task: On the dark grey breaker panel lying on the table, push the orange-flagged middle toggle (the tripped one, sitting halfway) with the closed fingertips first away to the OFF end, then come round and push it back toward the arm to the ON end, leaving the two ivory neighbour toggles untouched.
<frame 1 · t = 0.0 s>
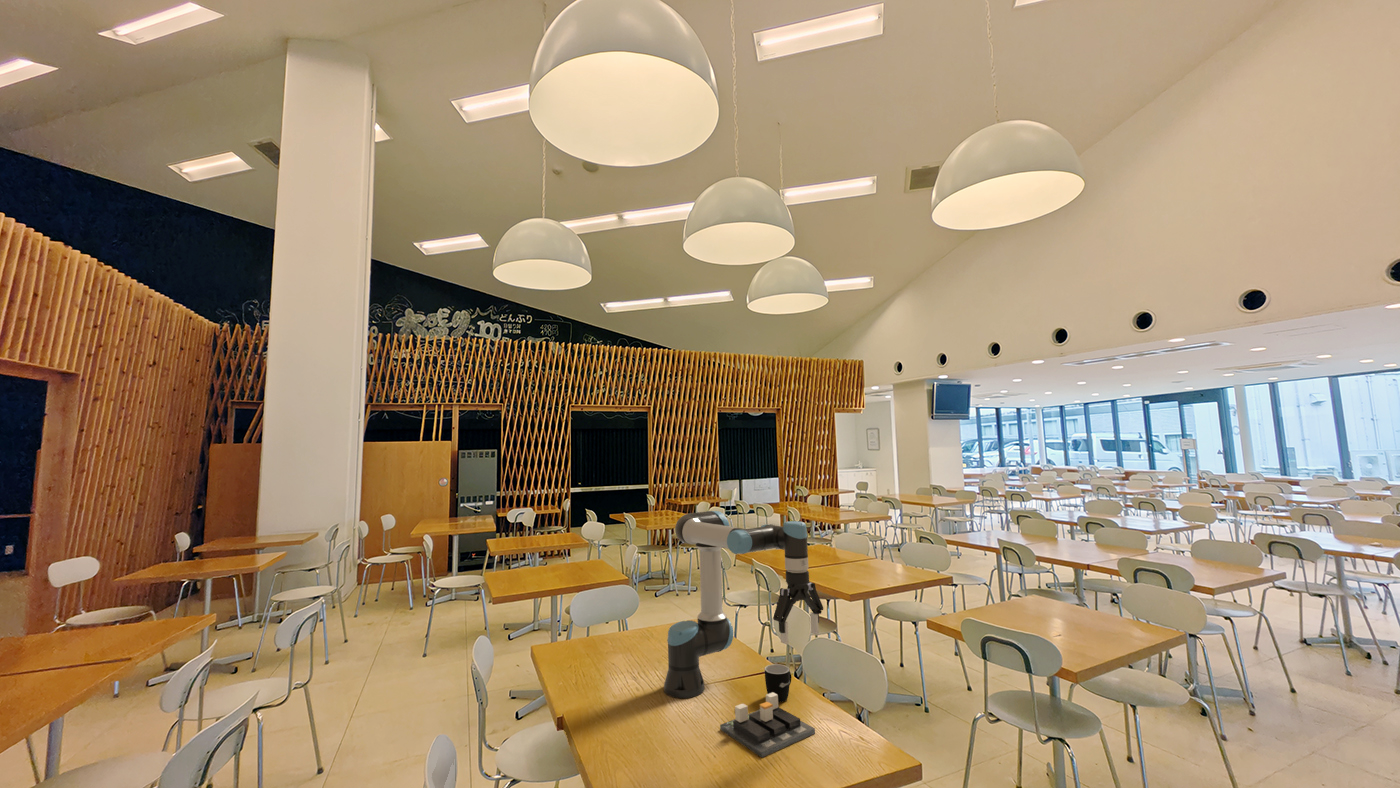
hand: (800, 638, 170), 28 cm above the table, fingers open, 13 cm apart
breaker far: (772, 719, 175), resting on panel, slide at -4.5 cm
mug: (780, 697, 191), on the table
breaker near: (742, 732, 168), resting on panel, slide at -4.5 cm
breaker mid: (767, 731, 168), resting on panel, slide at 0.0 cm
panel: (767, 731, 168), on the table
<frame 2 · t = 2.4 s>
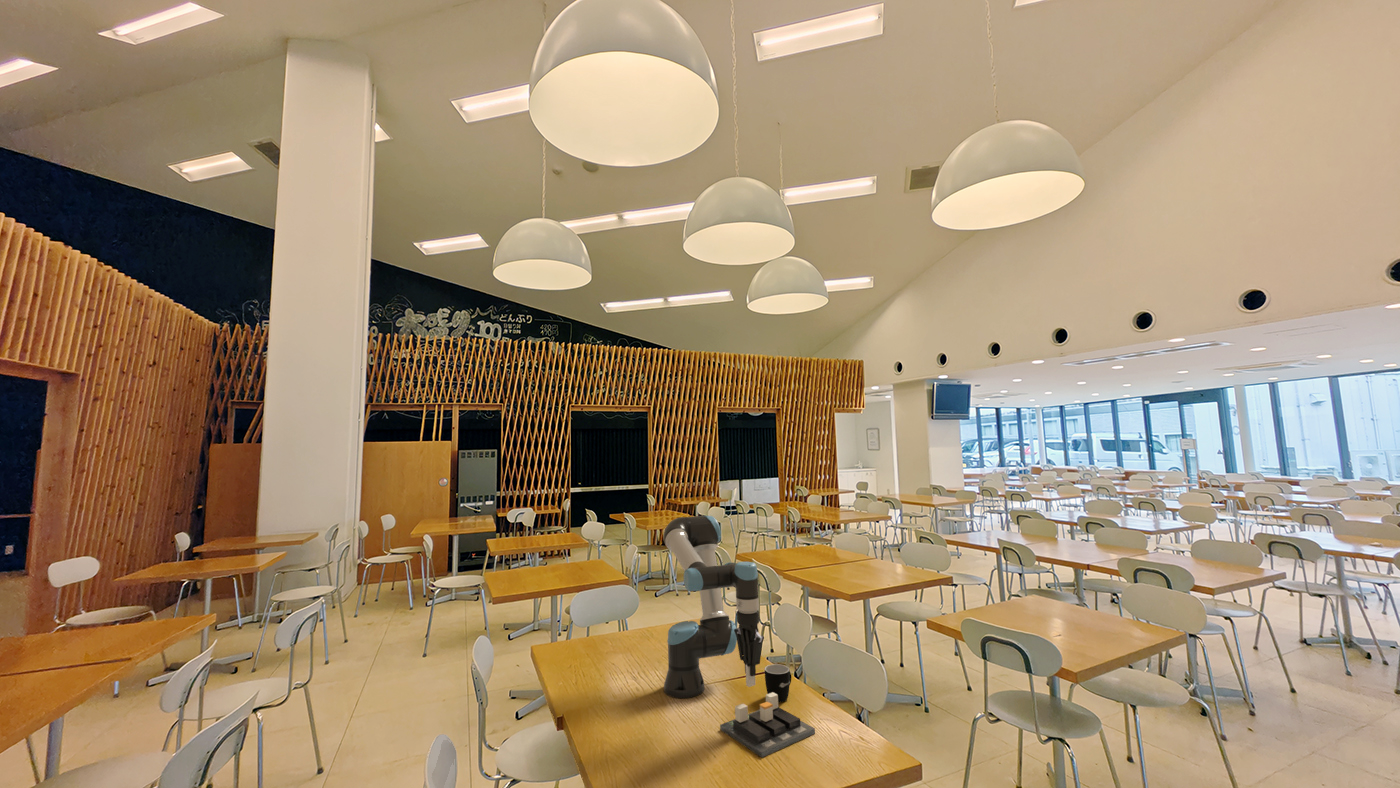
hand: (750, 685, 175), 12 cm above the table, fingers closed
nothing on the table moved.
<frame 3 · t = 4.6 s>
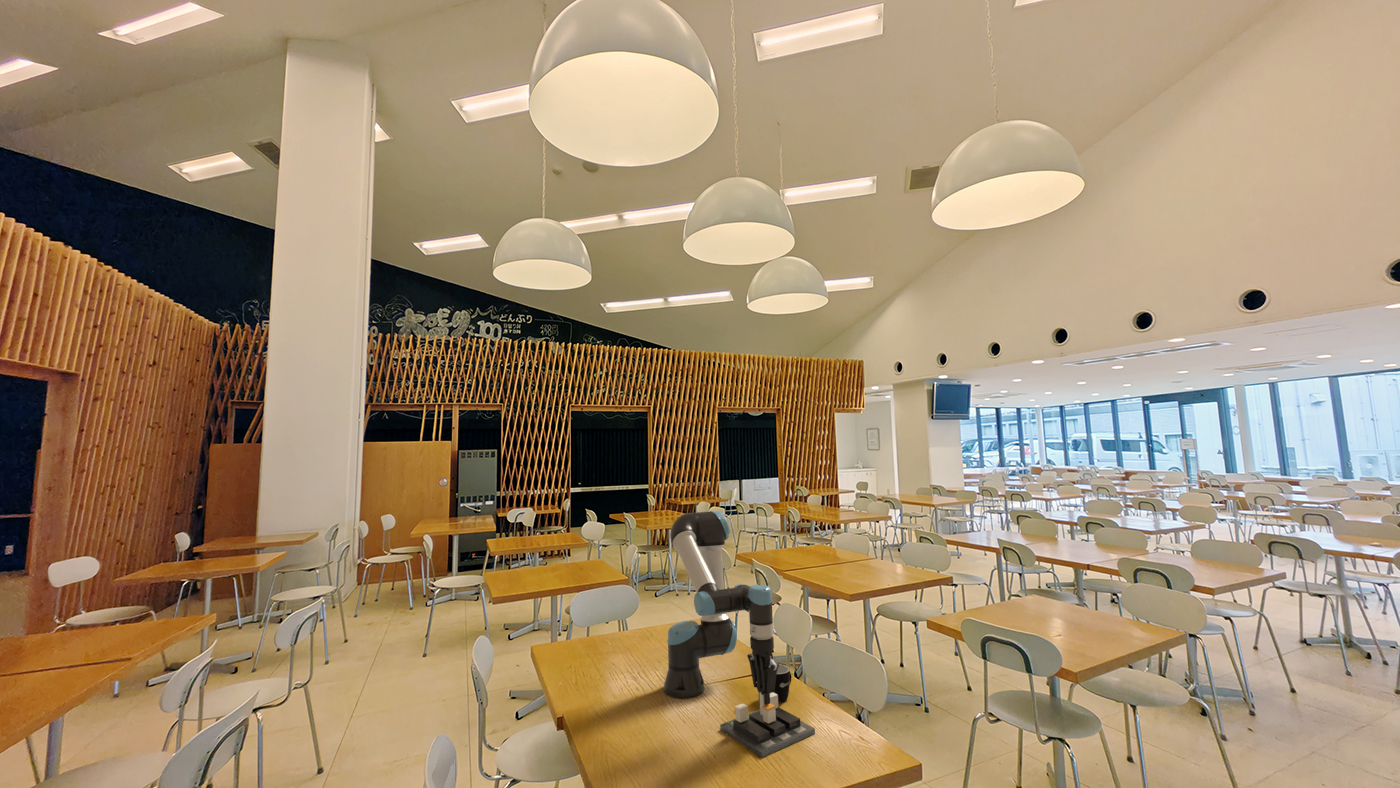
hand: (764, 713, 169), 5 cm above the table, fingers closed
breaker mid: (770, 733, 167), resting on panel, slide at 1.3 cm, touching gripper
everything else where it was.
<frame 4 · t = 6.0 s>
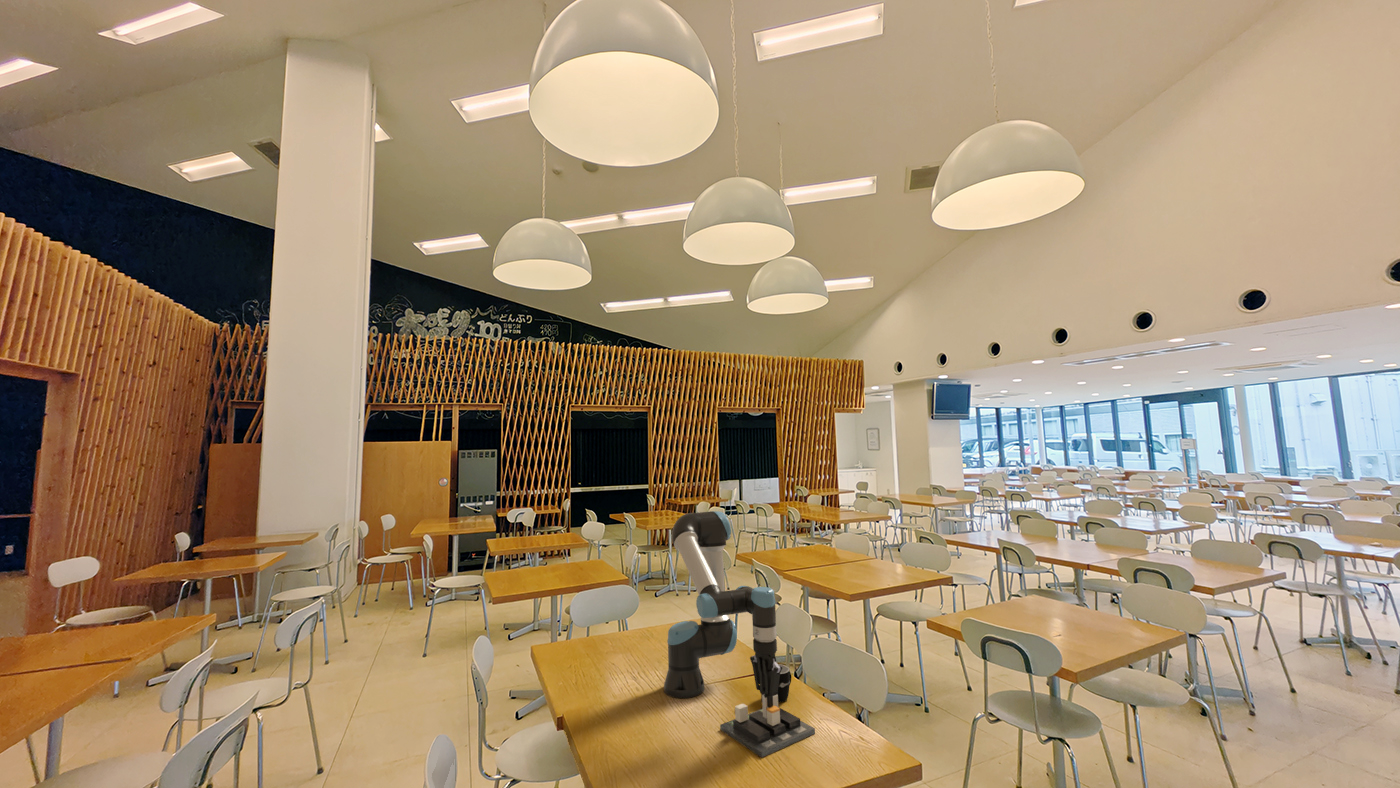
hand: (767, 716, 168), 5 cm above the table, fingers closed
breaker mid: (774, 735, 165), resting on panel, slide at 3.3 cm, touching gripper
everything else where it was.
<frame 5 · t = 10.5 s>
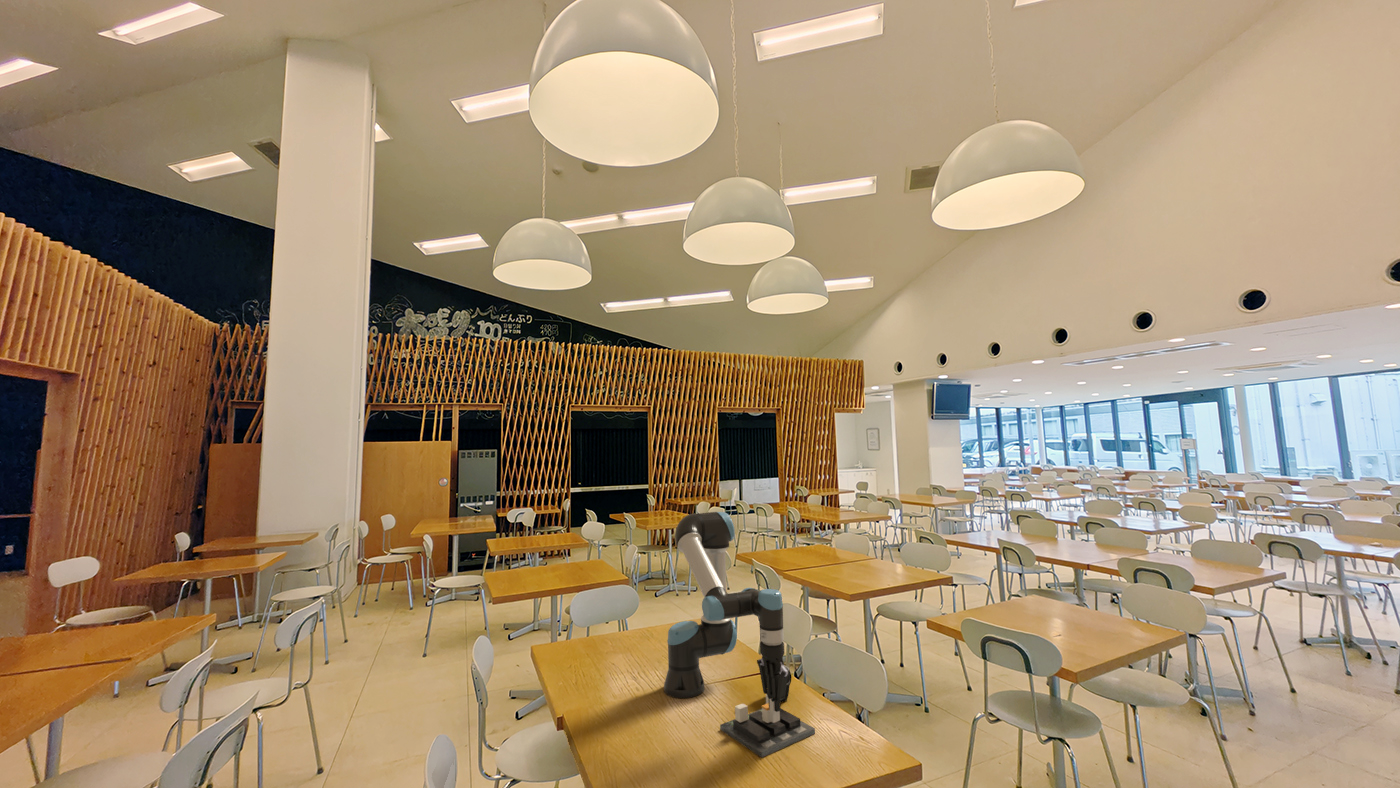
hand: (775, 720, 165), 5 cm above the table, fingers closed
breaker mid: (769, 732, 167), resting on panel, slide at 1.0 cm, touching gripper
everything else where it was.
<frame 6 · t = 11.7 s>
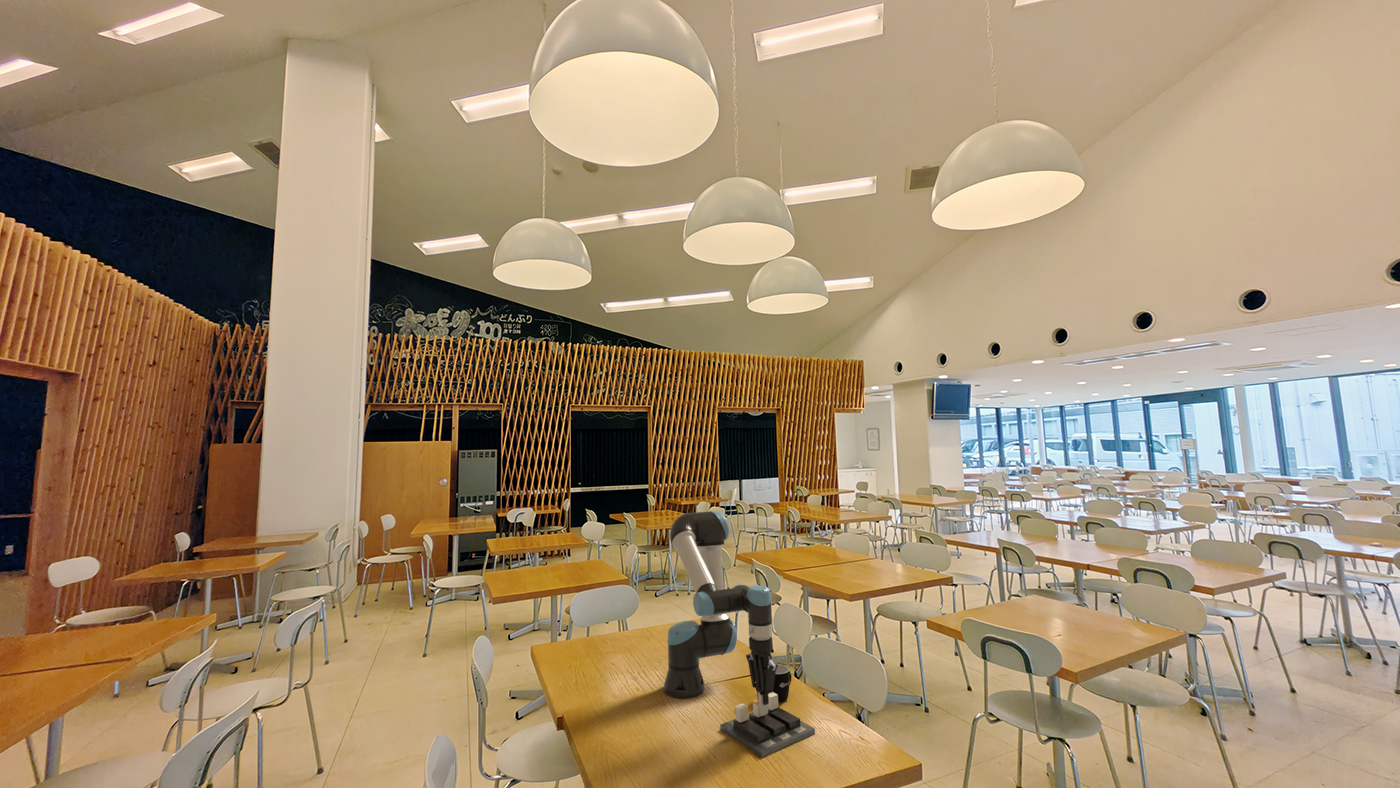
hand: (763, 713, 169), 5 cm above the table, fingers closed
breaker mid: (759, 727, 171), resting on panel, slide at -3.5 cm, touching gripper
everything else where it was.
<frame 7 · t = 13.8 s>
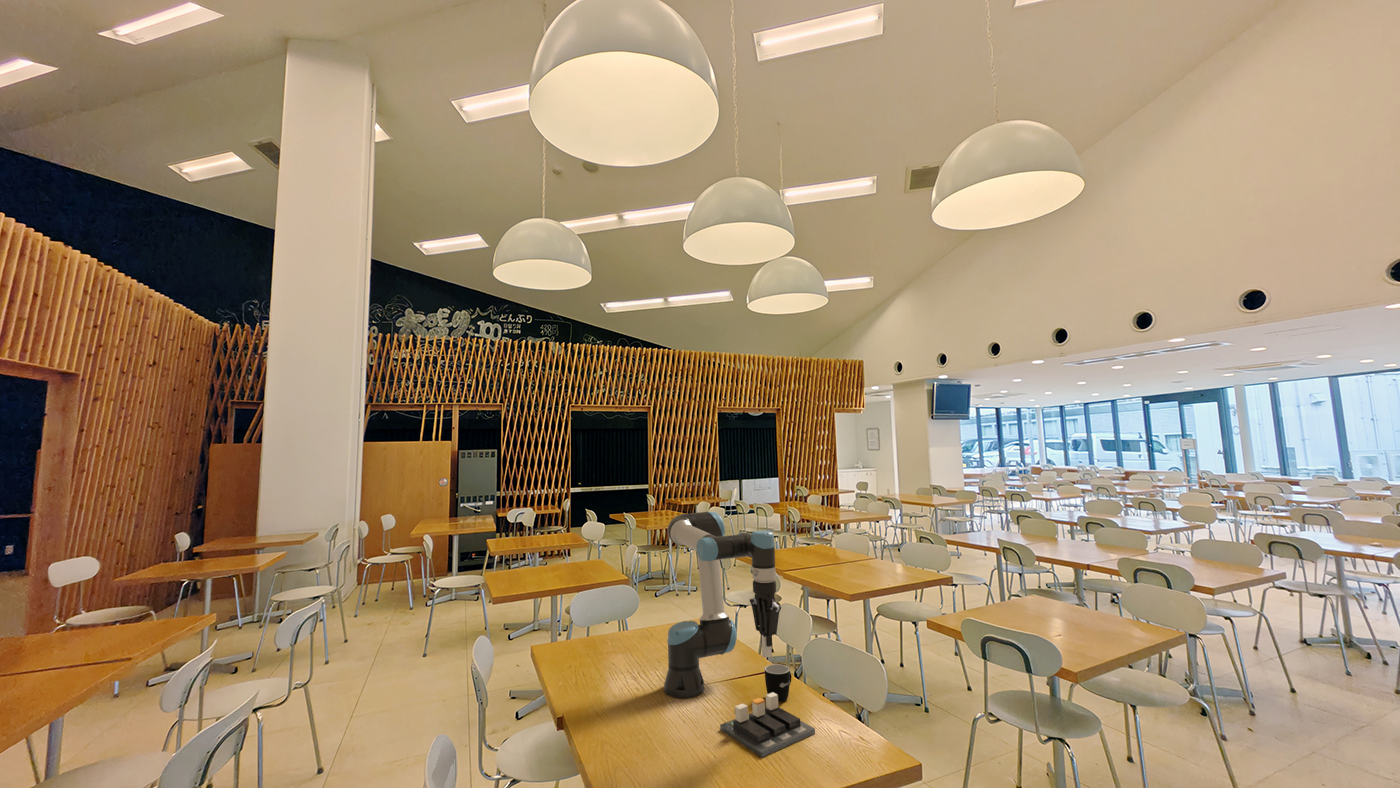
hand: (767, 655, 170), 23 cm above the table, fingers closed
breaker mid: (759, 726, 171), resting on panel, slide at -3.8 cm
everything else where it was.
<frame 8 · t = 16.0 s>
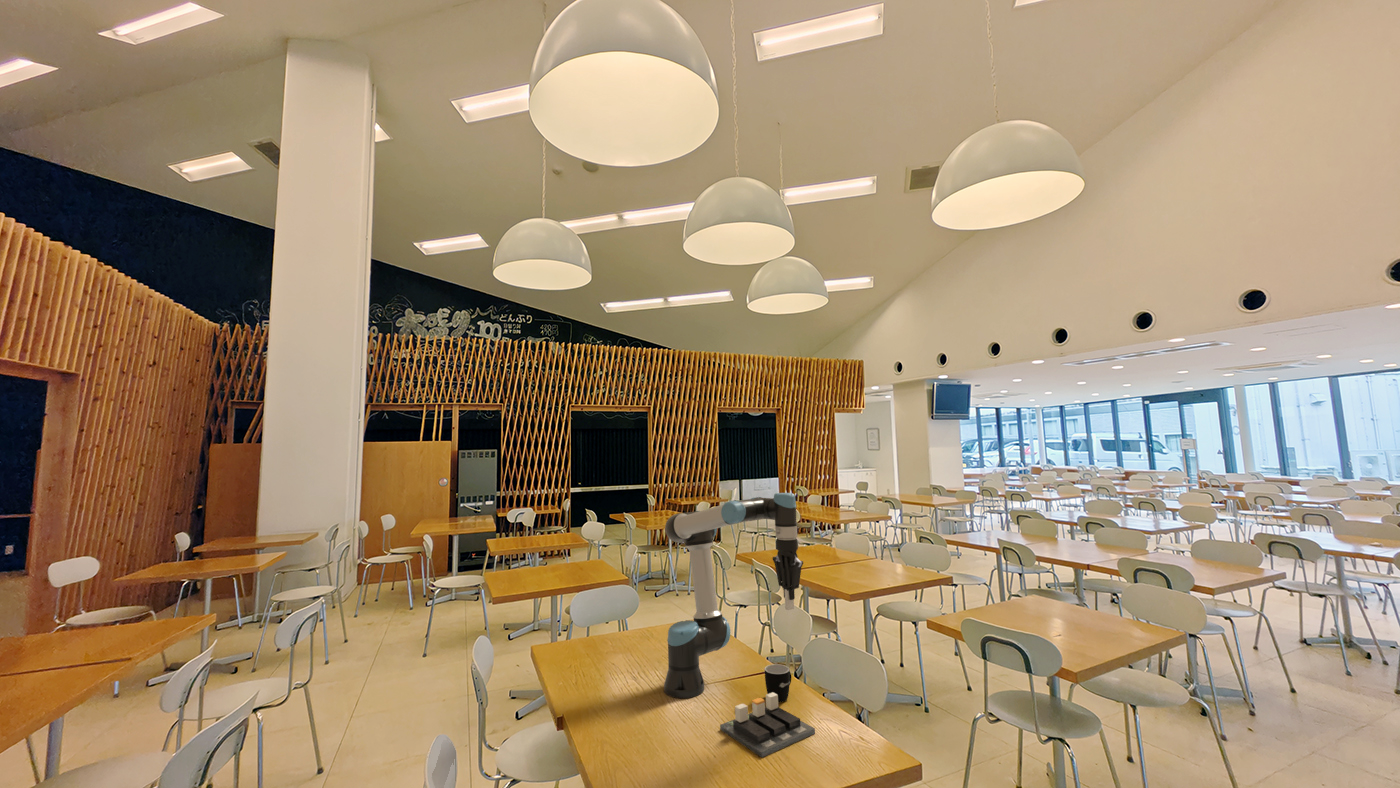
hand: (789, 608, 181), 34 cm above the table, fingers closed
nothing on the table moved.
at the end: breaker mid slide at -3.8 cm; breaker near slide at -4.5 cm; breaker far slide at -4.5 cm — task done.
